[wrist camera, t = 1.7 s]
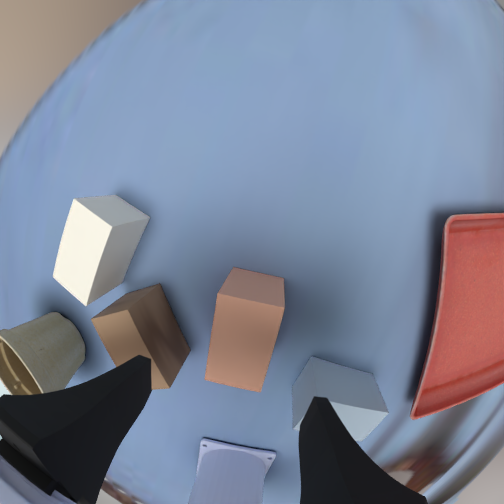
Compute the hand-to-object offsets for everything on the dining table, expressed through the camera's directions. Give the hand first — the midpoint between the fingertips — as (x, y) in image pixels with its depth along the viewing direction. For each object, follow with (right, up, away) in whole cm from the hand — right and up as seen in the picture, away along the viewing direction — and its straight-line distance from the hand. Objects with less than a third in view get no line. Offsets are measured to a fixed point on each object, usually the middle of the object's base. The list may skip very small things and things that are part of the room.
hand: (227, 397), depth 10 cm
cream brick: (-9, +7, +9) cm, 15 cm away
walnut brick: (-6, +1, +10) cm, 12 cm away
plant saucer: (+23, +1, +7) cm, 24 cm away
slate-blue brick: (+8, -4, +10) cm, 13 cm away
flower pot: (-18, -3, +12) cm, 22 cm away
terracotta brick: (+1, +2, +9) cm, 9 cm away
